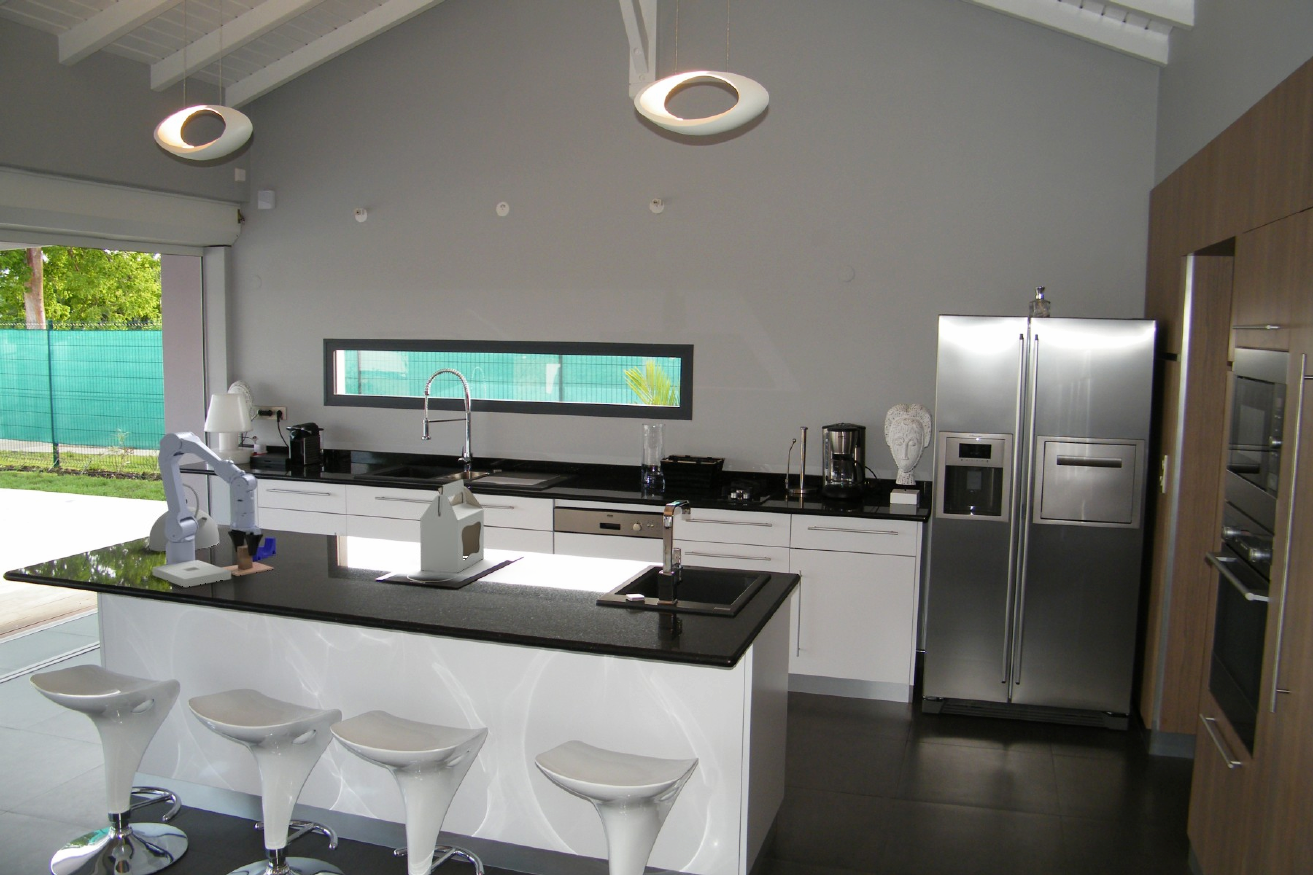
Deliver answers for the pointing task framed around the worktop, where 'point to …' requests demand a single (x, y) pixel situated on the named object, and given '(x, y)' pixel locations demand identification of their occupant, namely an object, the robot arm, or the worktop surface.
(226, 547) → the worktop surface
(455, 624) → the worktop surface
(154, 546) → the kettle
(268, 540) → the cable clip
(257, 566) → the terracotta tile
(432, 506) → the gable box
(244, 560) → the walnut peg
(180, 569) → the board
